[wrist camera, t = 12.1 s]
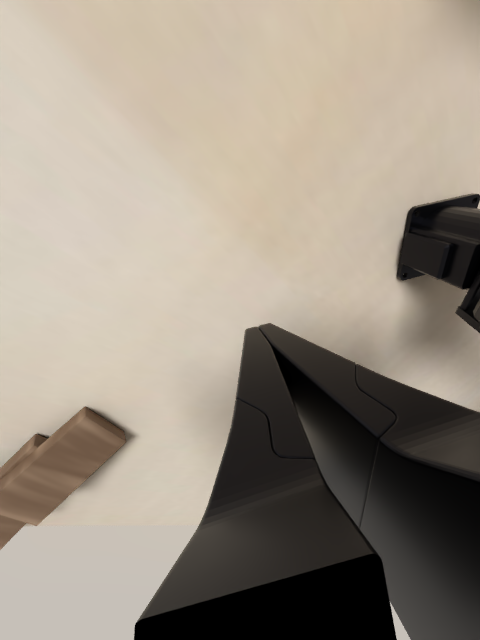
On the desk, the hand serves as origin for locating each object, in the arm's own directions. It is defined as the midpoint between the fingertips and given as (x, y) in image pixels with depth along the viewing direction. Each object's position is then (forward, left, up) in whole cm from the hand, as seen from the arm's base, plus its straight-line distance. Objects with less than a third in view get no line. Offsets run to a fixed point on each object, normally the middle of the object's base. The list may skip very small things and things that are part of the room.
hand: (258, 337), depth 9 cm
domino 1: (+13, +15, -12) cm, 23 cm away
